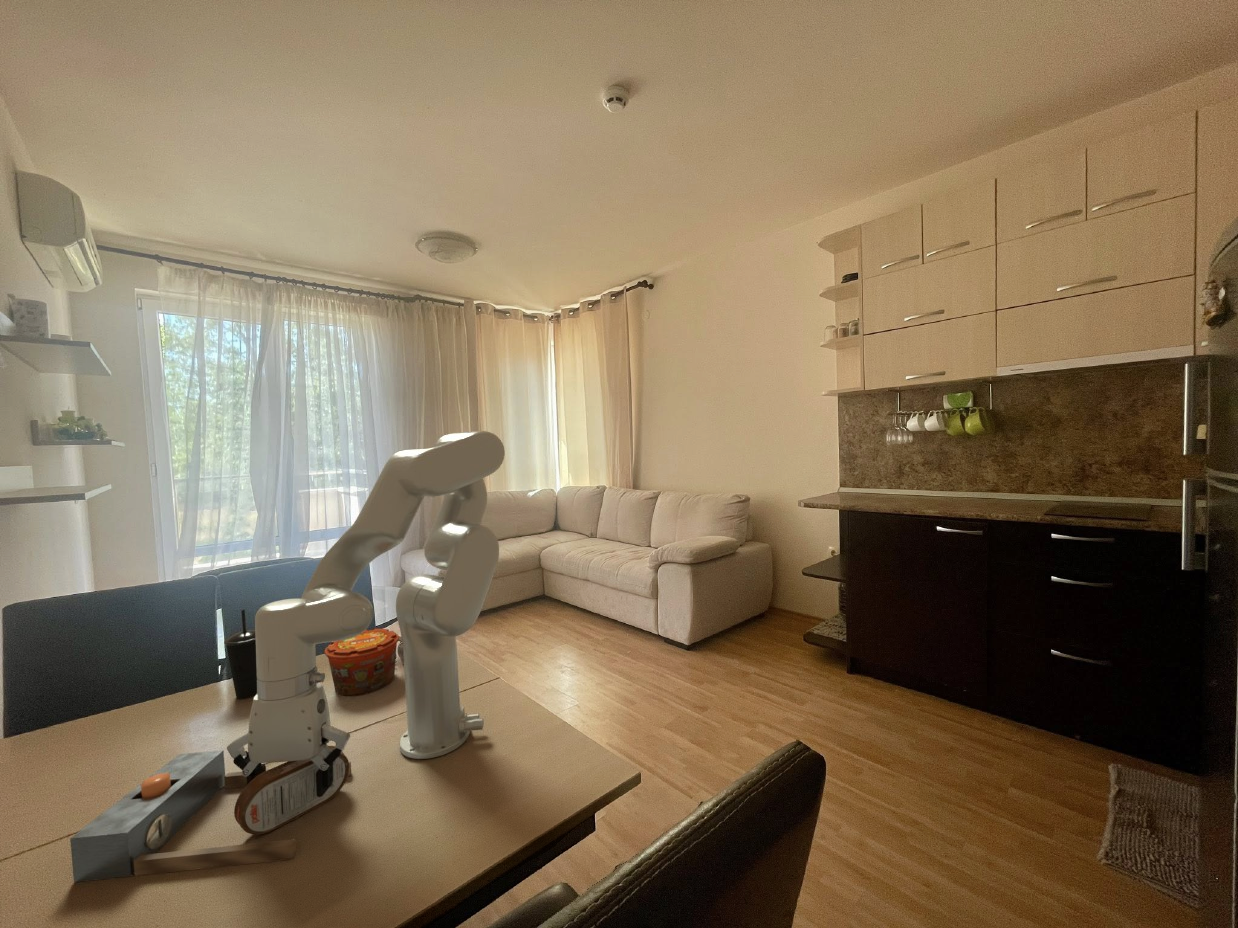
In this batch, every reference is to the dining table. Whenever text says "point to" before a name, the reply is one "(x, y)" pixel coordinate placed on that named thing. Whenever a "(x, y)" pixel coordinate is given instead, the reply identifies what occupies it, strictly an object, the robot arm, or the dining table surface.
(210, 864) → the rail channel
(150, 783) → the button
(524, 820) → the dining table surface
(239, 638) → the drinking cup
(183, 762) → the cabinet
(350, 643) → the food container
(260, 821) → the tin
